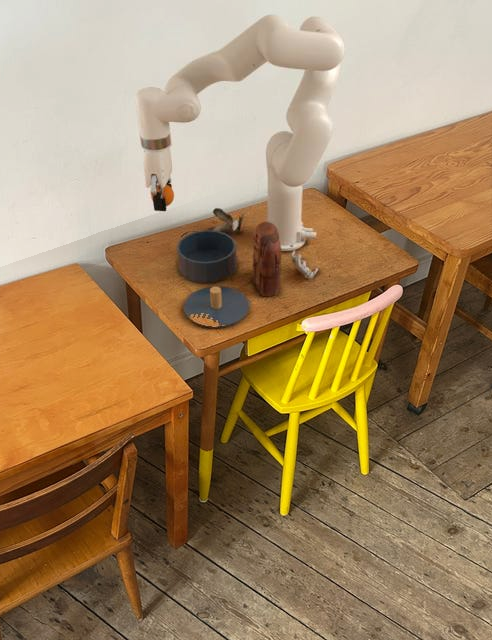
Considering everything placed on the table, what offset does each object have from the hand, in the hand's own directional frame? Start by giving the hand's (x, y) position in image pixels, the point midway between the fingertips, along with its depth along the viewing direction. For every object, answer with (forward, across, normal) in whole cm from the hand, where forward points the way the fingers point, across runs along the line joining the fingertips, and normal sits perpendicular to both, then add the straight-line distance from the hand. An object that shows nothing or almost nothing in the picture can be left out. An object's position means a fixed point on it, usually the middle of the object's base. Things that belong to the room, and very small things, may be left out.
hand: (163, 203), depth 195 cm
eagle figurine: (+17, -14, +13) cm, 26 cm away
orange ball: (-2, 0, 0) cm, 2 cm away
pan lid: (+16, +22, +18) cm, 32 cm away
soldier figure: (+17, +2, +38) cm, 41 cm away
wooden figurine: (+17, +10, +29) cm, 35 cm away
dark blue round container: (+17, +4, +12) cm, 20 cm away
